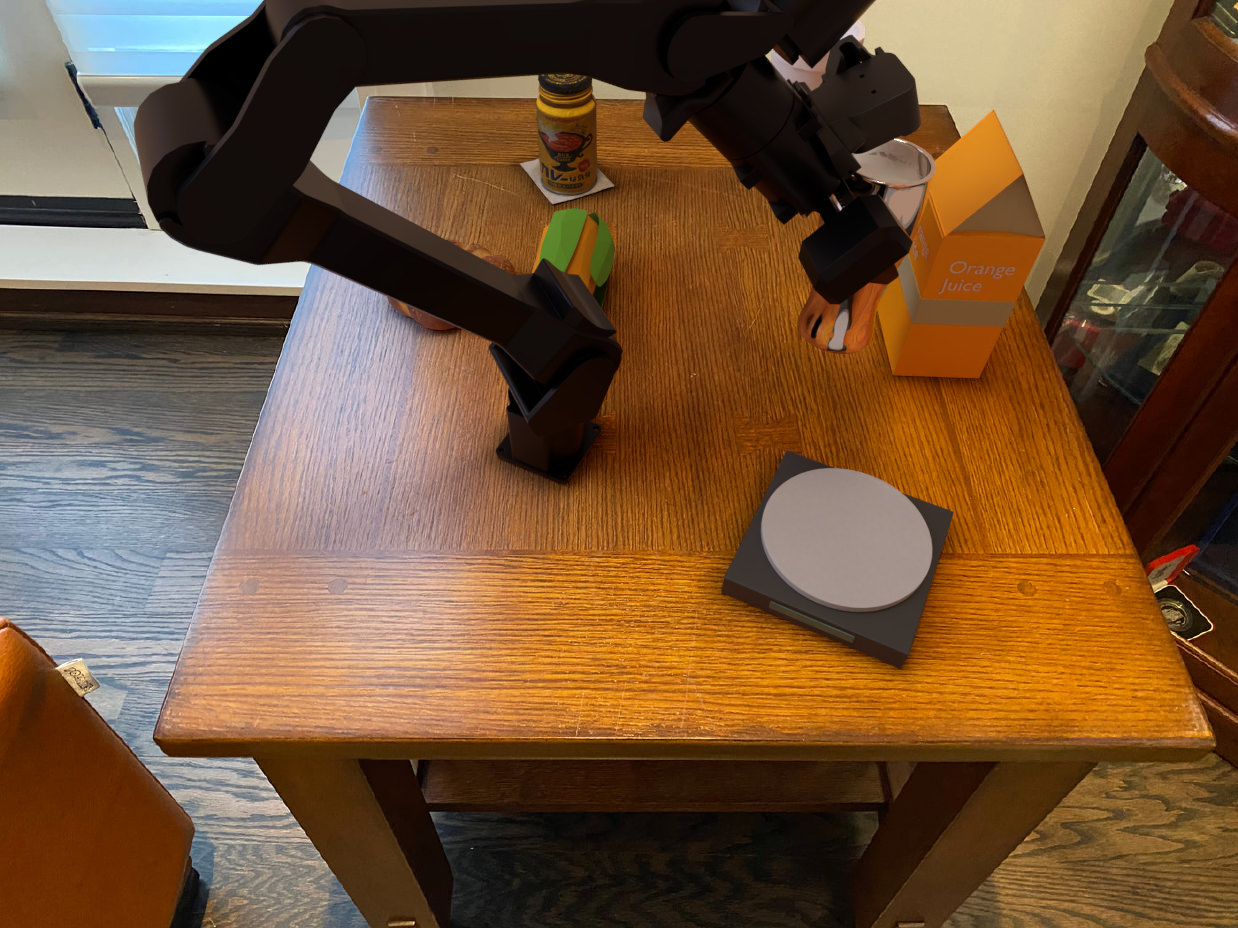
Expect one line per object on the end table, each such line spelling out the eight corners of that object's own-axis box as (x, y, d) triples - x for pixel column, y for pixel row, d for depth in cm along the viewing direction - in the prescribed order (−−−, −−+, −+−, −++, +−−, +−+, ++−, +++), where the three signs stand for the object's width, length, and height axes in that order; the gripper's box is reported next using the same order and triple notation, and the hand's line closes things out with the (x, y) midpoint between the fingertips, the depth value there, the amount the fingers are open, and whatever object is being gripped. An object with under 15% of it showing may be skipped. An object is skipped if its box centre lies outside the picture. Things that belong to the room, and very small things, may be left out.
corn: (620, 185, 79) (584, 331, 67) (624, 253, 85) (592, 399, 73) (541, 182, 80) (491, 325, 68) (550, 250, 86) (506, 394, 74)
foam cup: (834, 172, 95) (862, 54, 85) (750, 160, 96) (768, 42, 86) (841, 128, 101) (867, 12, 91) (762, 117, 102) (779, 2, 92)
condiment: (552, 206, 90) (547, 95, 81) (519, 165, 95) (511, 56, 86) (614, 188, 93) (616, 78, 83) (579, 149, 97) (577, 41, 88)
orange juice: (891, 375, 75) (967, 170, 60) (875, 308, 81) (941, 104, 65) (981, 379, 75) (1080, 174, 60) (959, 311, 81) (1045, 108, 65)
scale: (900, 670, 58) (911, 652, 56) (720, 593, 61) (724, 574, 59) (945, 527, 65) (956, 506, 63) (782, 465, 69) (788, 444, 67)
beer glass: (895, 337, 70) (961, 167, 59) (835, 370, 67) (892, 198, 56) (833, 292, 73) (883, 123, 62) (773, 321, 70) (815, 150, 59)
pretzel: (507, 250, 86) (504, 218, 83) (527, 322, 79) (524, 290, 76) (384, 267, 84) (376, 234, 81) (393, 342, 77) (385, 310, 74)
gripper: (928, 102, 45) (1036, 257, 55) (811, -42, 57) (918, 108, 67) (759, 242, 50) (886, 360, 60) (683, 83, 62) (801, 205, 72)
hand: (874, 249), depth 65 cm, fingers closed on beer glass, 7 cm apart
